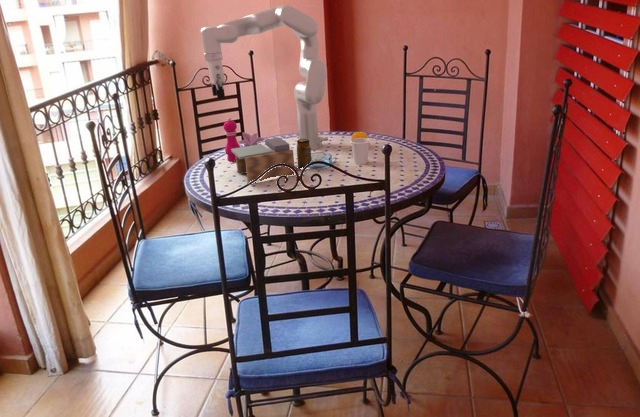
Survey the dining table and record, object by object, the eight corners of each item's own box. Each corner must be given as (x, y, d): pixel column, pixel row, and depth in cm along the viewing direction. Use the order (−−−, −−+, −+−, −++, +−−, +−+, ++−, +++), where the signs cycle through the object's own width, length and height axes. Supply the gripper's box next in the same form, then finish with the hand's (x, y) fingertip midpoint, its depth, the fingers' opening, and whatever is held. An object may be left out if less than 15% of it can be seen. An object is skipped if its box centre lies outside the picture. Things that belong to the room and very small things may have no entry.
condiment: (310, 163, 242) (308, 137, 238) (316, 168, 235) (314, 141, 230) (294, 166, 240) (292, 139, 236) (300, 171, 232) (298, 143, 228)
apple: (363, 149, 257) (362, 134, 254) (348, 148, 261) (347, 133, 258) (370, 145, 263) (370, 130, 260) (356, 144, 267) (355, 129, 264)
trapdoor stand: (284, 164, 243) (282, 140, 239) (298, 175, 227) (296, 149, 223) (237, 173, 235) (234, 148, 231) (248, 184, 220) (245, 158, 216)
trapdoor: (279, 147, 237) (278, 137, 236) (290, 154, 225) (289, 144, 223) (231, 155, 230) (230, 145, 228) (240, 163, 218) (239, 152, 216)
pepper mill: (239, 162, 251) (233, 119, 244) (224, 162, 253) (218, 119, 245) (244, 157, 258) (239, 115, 250) (229, 157, 259) (224, 115, 252)
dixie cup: (360, 158, 244) (359, 136, 240) (374, 161, 238) (373, 139, 234) (347, 163, 238) (346, 141, 235) (361, 166, 233) (360, 143, 229)
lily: (269, 151, 269) (265, 132, 270) (257, 148, 258) (253, 128, 260) (249, 157, 274) (245, 139, 275) (236, 155, 263) (232, 136, 264)
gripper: (226, 57, 227) (231, 98, 234) (217, 54, 242) (223, 93, 249) (208, 59, 225) (214, 101, 231) (201, 56, 240) (206, 95, 246)
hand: (218, 97), depth 240 cm, fingers open, 9 cm apart
